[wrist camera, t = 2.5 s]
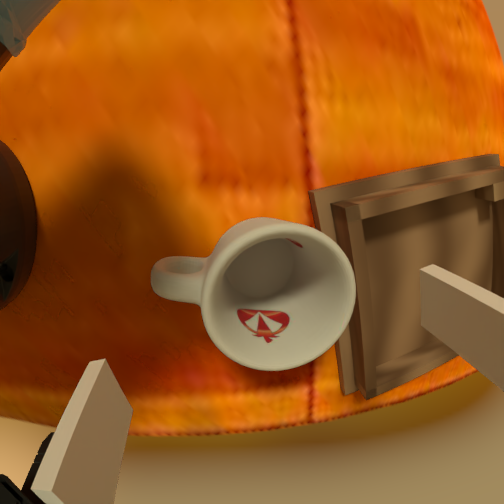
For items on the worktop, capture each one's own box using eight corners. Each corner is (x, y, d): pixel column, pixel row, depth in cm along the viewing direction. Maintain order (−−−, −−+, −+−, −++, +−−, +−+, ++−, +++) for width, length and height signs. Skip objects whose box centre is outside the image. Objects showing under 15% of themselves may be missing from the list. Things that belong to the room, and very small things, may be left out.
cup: (159, 306, 23) (142, 366, 15) (165, 196, 21) (144, 210, 14) (301, 314, 25) (339, 371, 17) (318, 212, 23) (371, 233, 15)
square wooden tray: (340, 387, 28) (355, 412, 24) (308, 191, 23) (327, 195, 19) (491, 315, 29) (512, 328, 26) (490, 154, 24) (517, 155, 21)
